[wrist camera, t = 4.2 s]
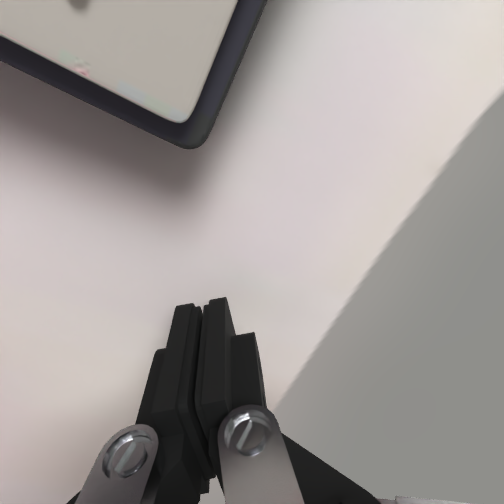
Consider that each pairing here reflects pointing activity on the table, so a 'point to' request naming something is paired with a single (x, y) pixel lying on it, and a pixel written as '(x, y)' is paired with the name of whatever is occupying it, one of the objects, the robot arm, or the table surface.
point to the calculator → (135, 56)
